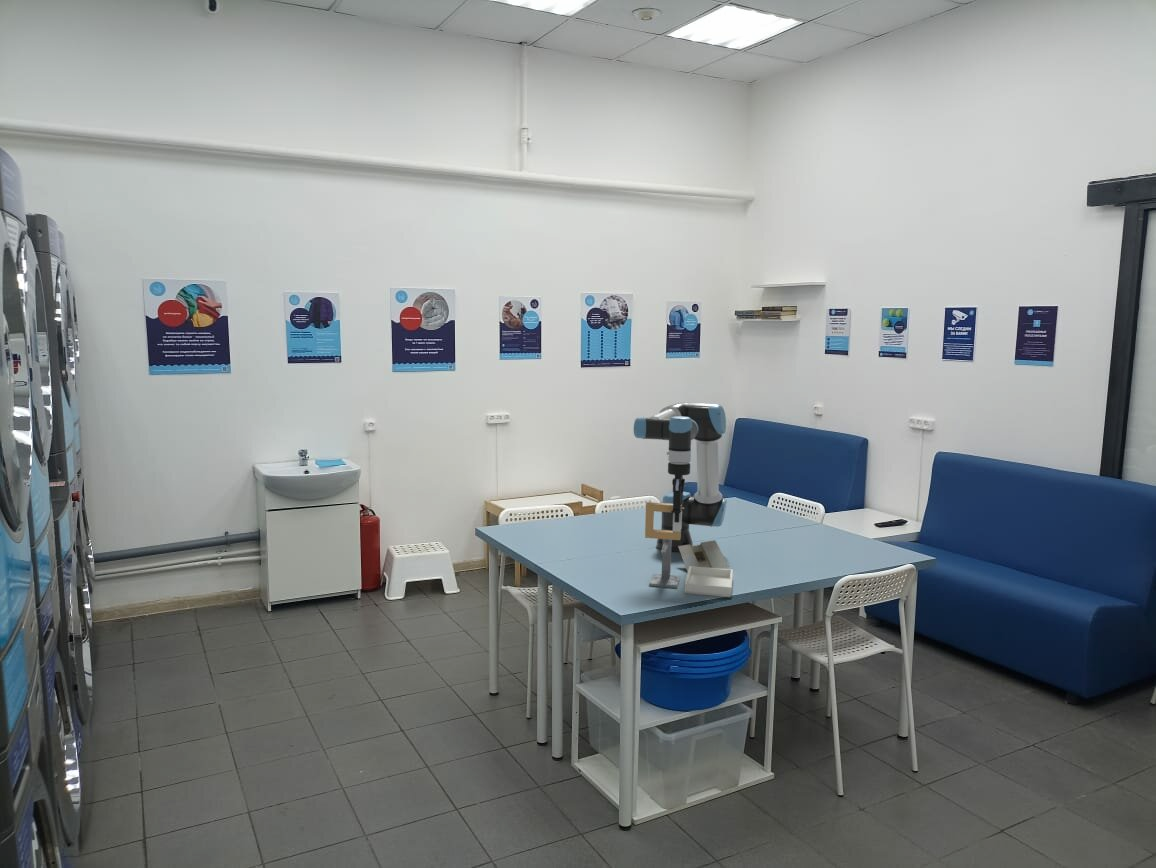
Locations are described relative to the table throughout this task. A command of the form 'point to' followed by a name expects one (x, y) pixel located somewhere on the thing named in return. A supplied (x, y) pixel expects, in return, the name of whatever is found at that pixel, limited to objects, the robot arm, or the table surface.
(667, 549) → the hook stand
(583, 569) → the table surface
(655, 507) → the picture frame
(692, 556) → the grey angular piece
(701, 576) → the tray
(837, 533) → the table surface
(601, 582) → the table surface
